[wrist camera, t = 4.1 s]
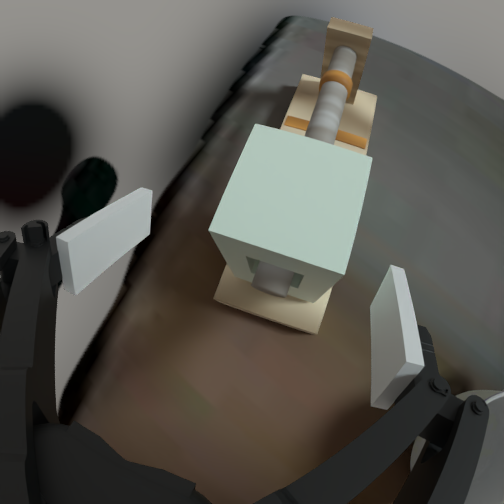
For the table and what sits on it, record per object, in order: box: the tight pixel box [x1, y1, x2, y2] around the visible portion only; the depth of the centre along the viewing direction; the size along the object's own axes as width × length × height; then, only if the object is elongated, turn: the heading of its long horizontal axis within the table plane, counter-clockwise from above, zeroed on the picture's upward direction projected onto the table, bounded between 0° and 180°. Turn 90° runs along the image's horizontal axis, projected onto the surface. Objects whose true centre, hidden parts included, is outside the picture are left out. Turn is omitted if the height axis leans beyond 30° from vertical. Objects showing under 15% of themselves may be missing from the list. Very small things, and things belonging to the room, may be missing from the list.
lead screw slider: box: [213, 17, 377, 335], centre depth 22 cm, size 24×8×10 cm, turn 160°
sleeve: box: [208, 124, 372, 303], centre depth 19 cm, size 6×6×10 cm
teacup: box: [410, 390, 504, 504], centre depth 16 cm, size 14×11×8 cm
